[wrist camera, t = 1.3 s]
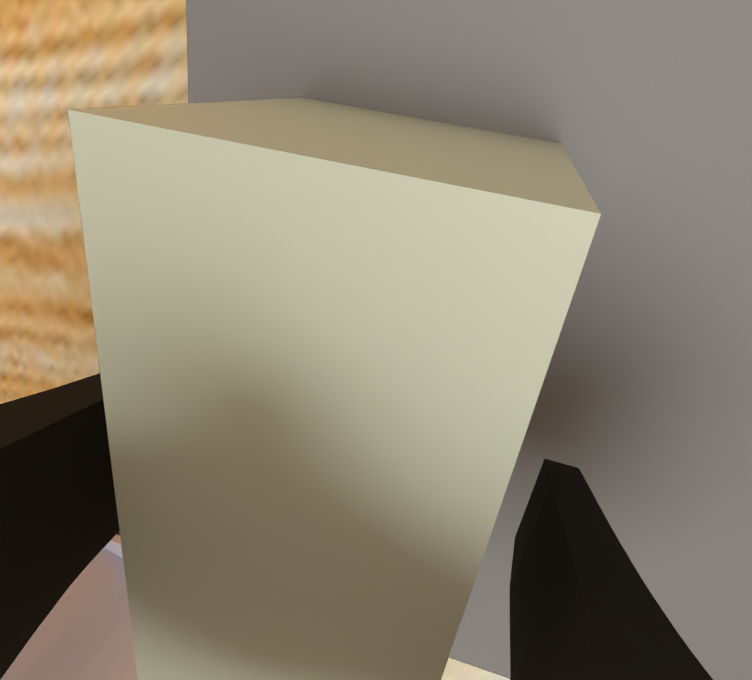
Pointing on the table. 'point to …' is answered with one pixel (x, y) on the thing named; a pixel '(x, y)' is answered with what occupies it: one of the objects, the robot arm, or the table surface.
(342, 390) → the pale green block
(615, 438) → the mounting board
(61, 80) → the table surface
